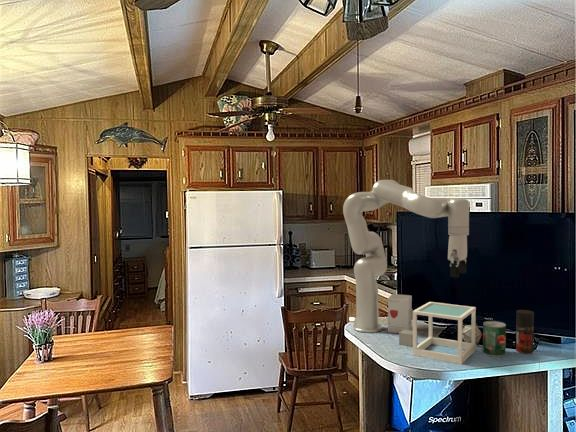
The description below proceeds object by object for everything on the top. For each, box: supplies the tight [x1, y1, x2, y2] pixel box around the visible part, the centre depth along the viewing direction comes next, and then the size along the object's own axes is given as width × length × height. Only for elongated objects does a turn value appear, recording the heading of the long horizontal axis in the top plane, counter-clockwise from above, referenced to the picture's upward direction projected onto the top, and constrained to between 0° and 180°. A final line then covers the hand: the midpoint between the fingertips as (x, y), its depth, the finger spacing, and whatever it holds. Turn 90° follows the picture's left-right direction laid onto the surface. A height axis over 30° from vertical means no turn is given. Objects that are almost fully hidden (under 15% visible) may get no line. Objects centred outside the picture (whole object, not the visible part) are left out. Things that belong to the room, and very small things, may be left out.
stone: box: [398, 330, 413, 348], centre depth 202 cm, size 5×5×5 cm
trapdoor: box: [421, 304, 469, 317], centre depth 191 cm, size 14×14×1 cm
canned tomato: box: [482, 320, 507, 357], centre depth 190 cm, size 8×8×11 cm
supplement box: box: [387, 293, 413, 334], centre depth 221 cm, size 9×9×15 cm
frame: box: [412, 301, 477, 365], centre depth 191 cm, size 18×18×16 cm
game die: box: [462, 323, 483, 346], centre depth 201 cm, size 9×8×10 cm
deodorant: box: [515, 309, 535, 355], centre depth 191 cm, size 6×6×15 cm
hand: (458, 275), depth 198 cm, fingers open, 9 cm apart
